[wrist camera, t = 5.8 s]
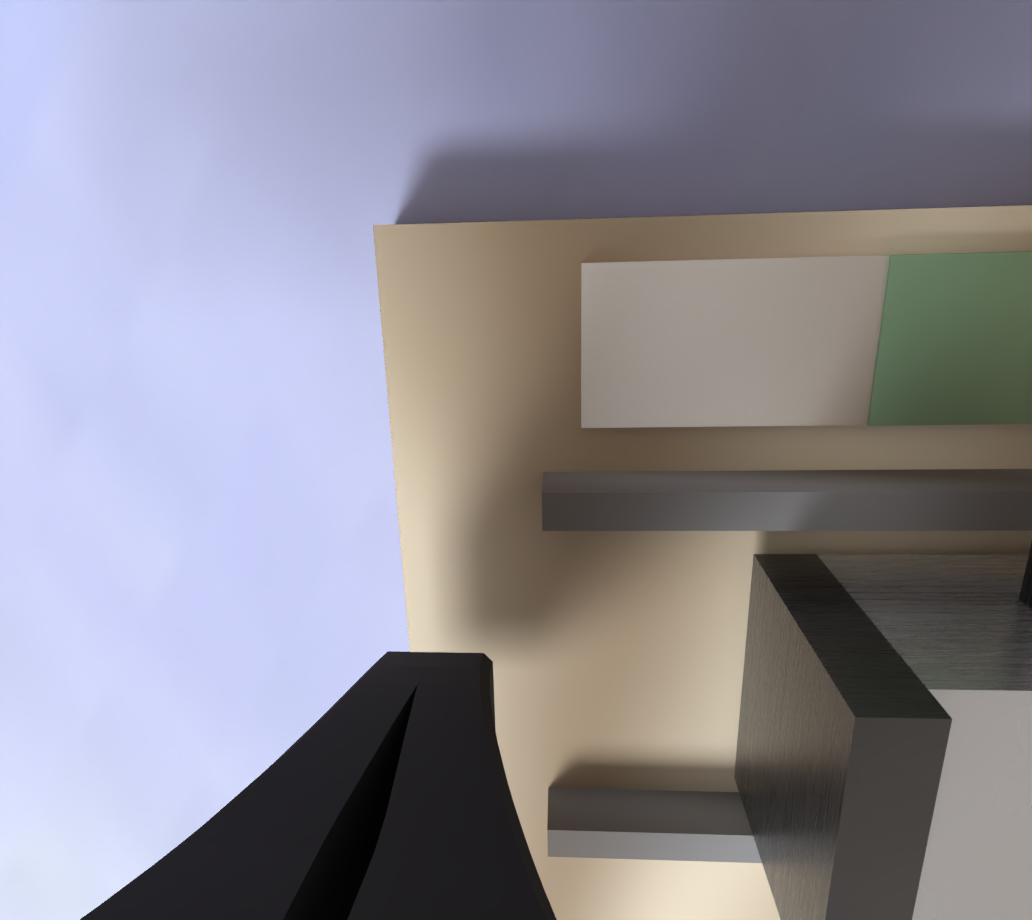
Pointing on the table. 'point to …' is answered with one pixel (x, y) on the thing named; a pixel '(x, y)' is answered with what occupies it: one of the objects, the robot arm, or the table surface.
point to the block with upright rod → (890, 734)
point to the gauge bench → (681, 486)
